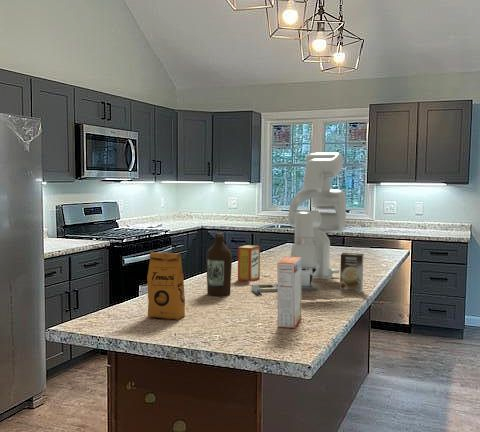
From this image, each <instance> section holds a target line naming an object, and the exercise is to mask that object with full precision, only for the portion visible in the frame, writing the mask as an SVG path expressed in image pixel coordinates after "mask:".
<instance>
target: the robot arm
mask: <svg viewBox="0 0 480 432" xmlns="http://www.w3.org/2000/svg"><path fill="white" fill-rule="evenodd" d="M305 164H306V165H305V170H304V174H303V175H304V177H303V183H302V189H300V190H299V191H298V192H297V193H296V194H295V195H294V197H293V198H292V200H291V201H290V204H289V207H288V208H289V210H288V214H287V221H288V225H289V226H291V227H292V228H294V243H292V246H291V251H290V257H301V268H307V269H309V270H310V284H311V282H312V275H313V280H326V279H327V280H328V279H329V280H330V278H331V279H333V277H334V276H333V274H340V269H339V268H336V269H333V268H332V267H330V262H331V261H330V259H331V255H330V254H331V240H330V238H329V236H328V235H327V234H326V233H334V234H335V233H342V232H344V231H345V229H346V222H347V221H346V220H347V218H346V215H347V214H346V213H347V198H346V193H345V192H344V191H343V190H341V189H331V178H336V177H337V176H338V175H339V173H340V171H341V170H342V169H343V165H344V158H343V155H342V154H341V153H340V152H311V153H309V154H307V155H306V157H305ZM310 199H311V201H312V207H313V208H314V209H316V210H308V209H307V210H306V209H305V210H301V209H298V208H299V206H300V205H301V204H303V203H304V202H306V201H308V200H310ZM317 209H318V210H334V211H335V212H328V211H318V210H317Z"/></svg>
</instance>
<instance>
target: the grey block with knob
mask: <svg viewBox="0 0 480 432" xmlns="http://www.w3.org/2000/svg"><path fill="white" fill-rule="evenodd" d="M301 287H310V270H309V269H305V268H301Z"/></svg>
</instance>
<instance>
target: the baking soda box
mask: <svg viewBox="0 0 480 432" xmlns="http://www.w3.org/2000/svg"><path fill="white" fill-rule="evenodd" d="M260 249H261V246H259V245H251V244H247V245H242V246H239V247H237V281H238V282H239V281H240V282H254V281H257V280H260V279H261V277H260V276H261V271H260V270H261V269H260V268H261V266H260V265H261V264H260V263H261V250H260Z"/></svg>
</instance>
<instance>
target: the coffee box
mask: <svg viewBox="0 0 480 432" xmlns="http://www.w3.org/2000/svg"><path fill="white" fill-rule="evenodd" d="M339 274H340V277H339V290H341V291H342V290H343V291H344V290H346V291H355V292H357V293H359V294H362V293H363V284H364V283H363V280H364V253H357V252H354V253H353V252H342V253H341V254H340V269H339Z"/></svg>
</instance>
